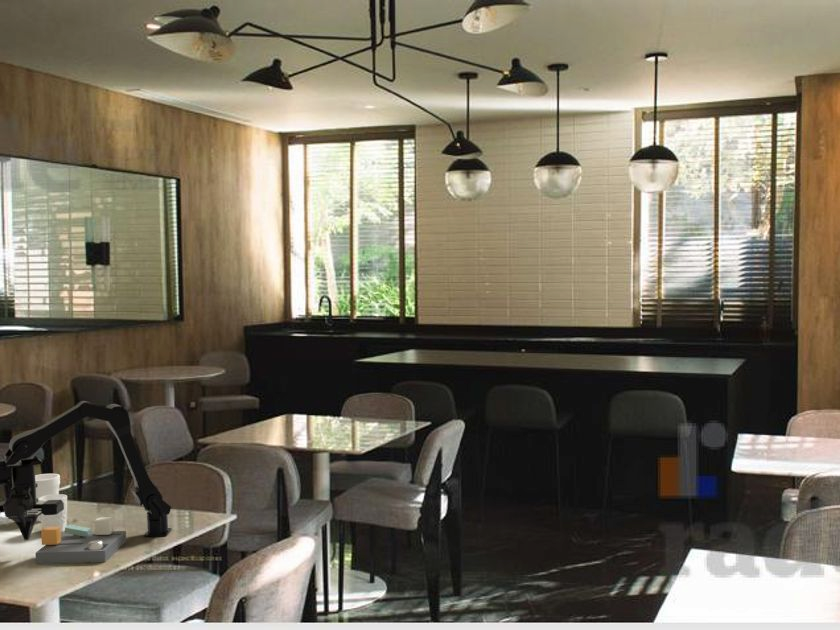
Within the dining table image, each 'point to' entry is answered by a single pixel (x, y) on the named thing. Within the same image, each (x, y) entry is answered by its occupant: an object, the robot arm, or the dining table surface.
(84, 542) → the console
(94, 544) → the clear cube
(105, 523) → the beige block
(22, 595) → the dining table surface
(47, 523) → the white cup
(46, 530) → the fader orange
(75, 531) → the rocker teal
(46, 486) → the foam cup
